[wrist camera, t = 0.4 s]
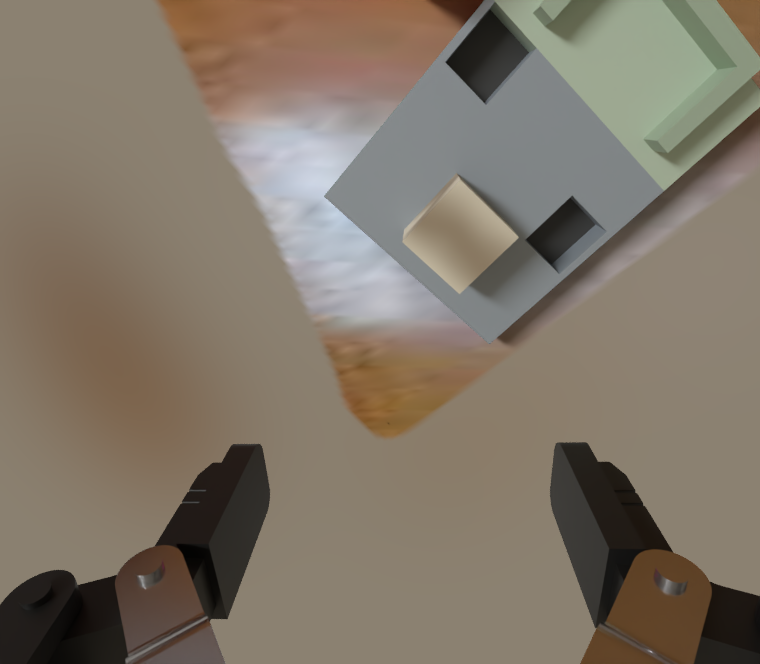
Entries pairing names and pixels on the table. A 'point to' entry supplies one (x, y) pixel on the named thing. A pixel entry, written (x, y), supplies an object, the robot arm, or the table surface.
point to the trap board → (552, 134)
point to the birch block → (458, 234)
